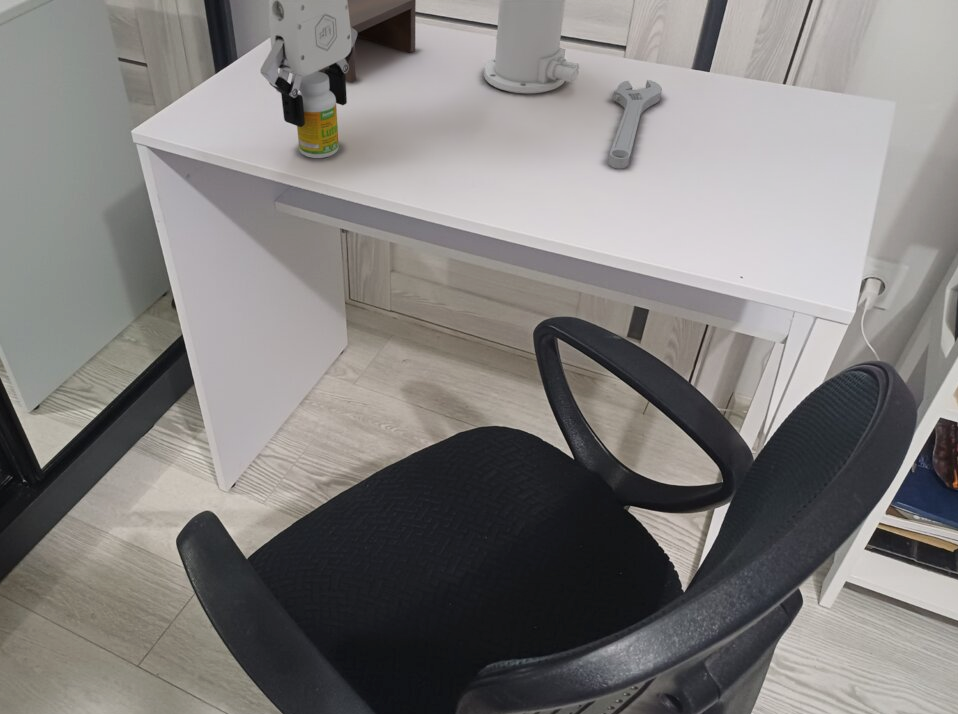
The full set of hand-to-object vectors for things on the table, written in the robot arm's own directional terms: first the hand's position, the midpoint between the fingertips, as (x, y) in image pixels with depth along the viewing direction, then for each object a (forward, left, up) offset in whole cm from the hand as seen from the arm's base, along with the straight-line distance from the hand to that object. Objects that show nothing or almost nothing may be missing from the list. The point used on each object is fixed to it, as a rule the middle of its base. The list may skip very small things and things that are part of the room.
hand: (316, 111), depth 107 cm
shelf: (+18, -27, -5) cm, 33 cm away
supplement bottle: (0, 0, -5) cm, 5 cm away
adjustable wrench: (-29, -32, -5) cm, 44 cm away
